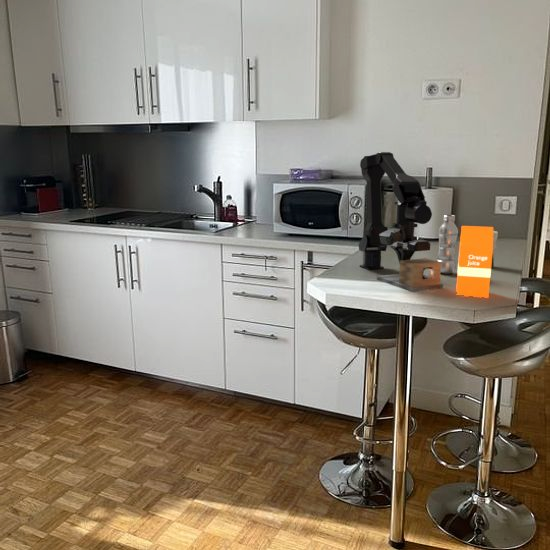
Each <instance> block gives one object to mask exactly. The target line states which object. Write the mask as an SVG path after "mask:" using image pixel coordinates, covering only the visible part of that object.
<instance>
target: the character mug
mask: <svg viewBox="0 0 550 550" xmlns="http://www.w3.org/2000/svg"><path fill="white" fill-rule="evenodd" d="M498 235H499V232H498V231H495V230H493V251H494V250H496V249H497V248H498V245H497V244H498V243H497V241H498V238H499V237H498ZM494 260H495V259H494V252H493V253H492V264H491V268H492V267H494V265H495V264H494V262H495V261H494Z"/></svg>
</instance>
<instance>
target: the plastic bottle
mask: <svg viewBox="0 0 550 550" xmlns="http://www.w3.org/2000/svg"><path fill="white" fill-rule="evenodd" d="M442 220H443V223H441V225H440V227H439V228H438V253H437V254H438V255H437V259H436V261H438V262H441V271H440V274H445V275H446V274H453V273H454V272H455V270H456V258H455V257H456V254H455V252H456V245H457V244H456V243H457V239H458V234H459V229H458V227H457V224H455V221H456V215H454V214H444V215H443V218H442Z"/></svg>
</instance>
